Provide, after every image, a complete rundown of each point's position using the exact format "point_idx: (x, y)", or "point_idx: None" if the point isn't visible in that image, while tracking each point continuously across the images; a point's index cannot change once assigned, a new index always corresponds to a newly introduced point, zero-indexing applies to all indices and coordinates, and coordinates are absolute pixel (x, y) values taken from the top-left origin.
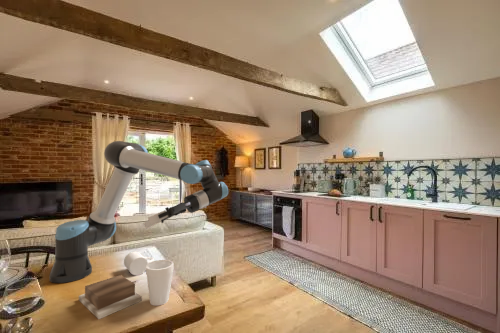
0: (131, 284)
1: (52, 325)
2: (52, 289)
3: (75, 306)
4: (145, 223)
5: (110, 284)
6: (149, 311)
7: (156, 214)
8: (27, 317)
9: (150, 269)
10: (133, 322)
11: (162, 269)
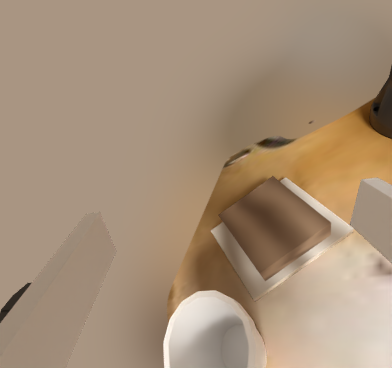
0: (257, 264)
1: (220, 184)
2: (339, 126)
3: None
4: (366, 197)
5: (269, 217)
6: None
7: (51, 264)
8: (249, 150)
9: (178, 306)
10: (183, 291)
11: (164, 349)
